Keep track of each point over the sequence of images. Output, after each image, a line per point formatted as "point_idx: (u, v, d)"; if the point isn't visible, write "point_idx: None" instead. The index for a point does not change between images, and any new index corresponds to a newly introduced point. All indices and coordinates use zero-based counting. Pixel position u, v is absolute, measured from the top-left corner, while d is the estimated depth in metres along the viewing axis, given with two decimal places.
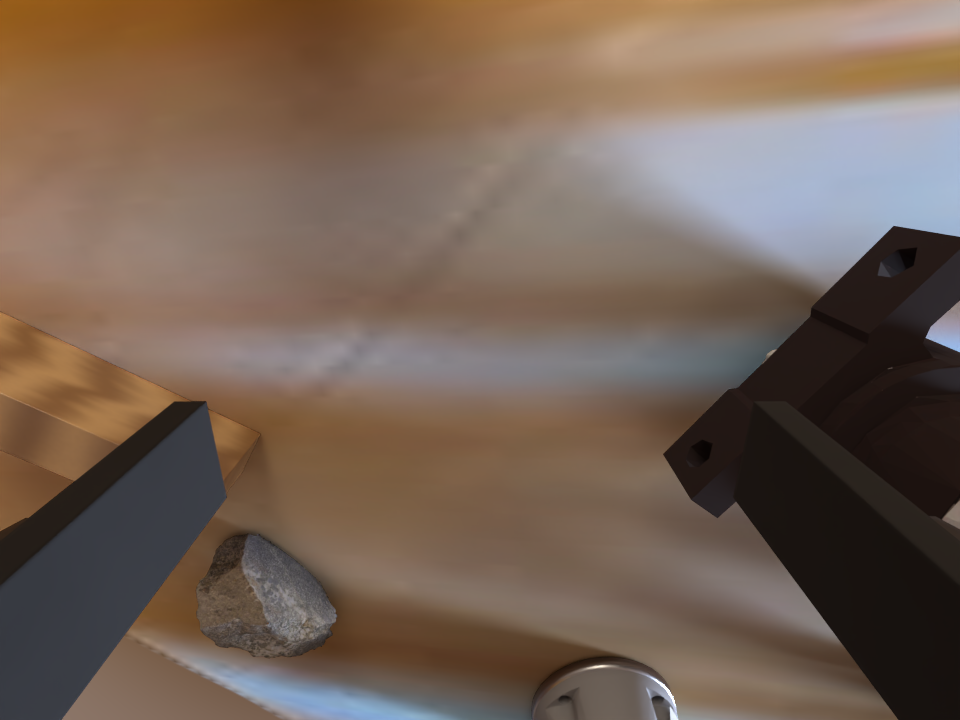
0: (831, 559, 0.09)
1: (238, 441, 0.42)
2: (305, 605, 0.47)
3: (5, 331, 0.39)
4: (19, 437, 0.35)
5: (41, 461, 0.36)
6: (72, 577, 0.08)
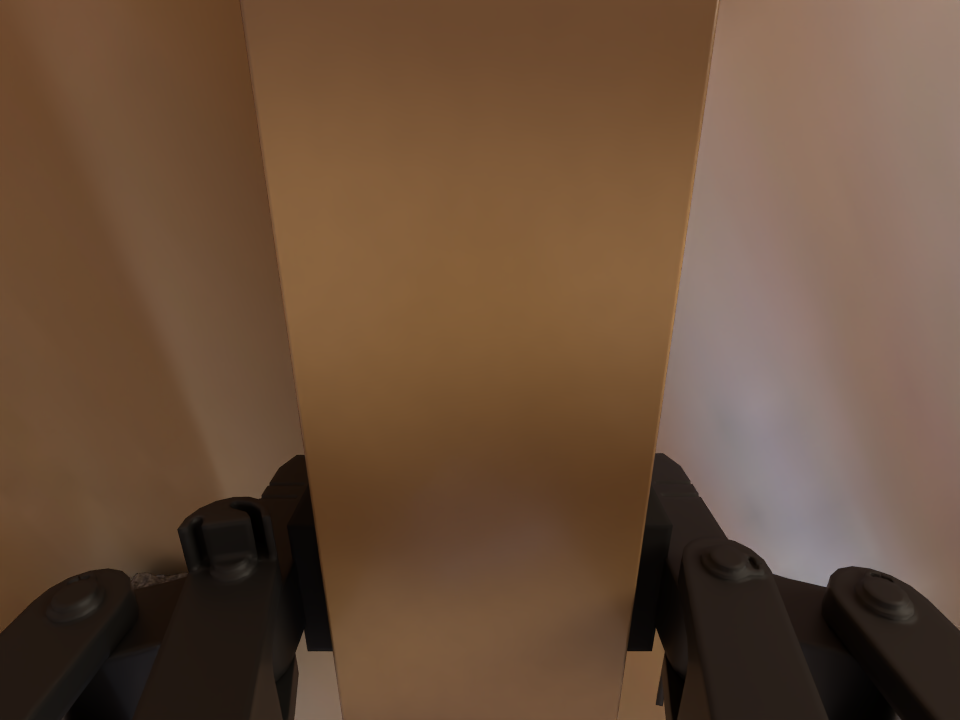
0: None
1: None
2: None
3: None
4: None
5: (307, 139, 0.05)
6: None
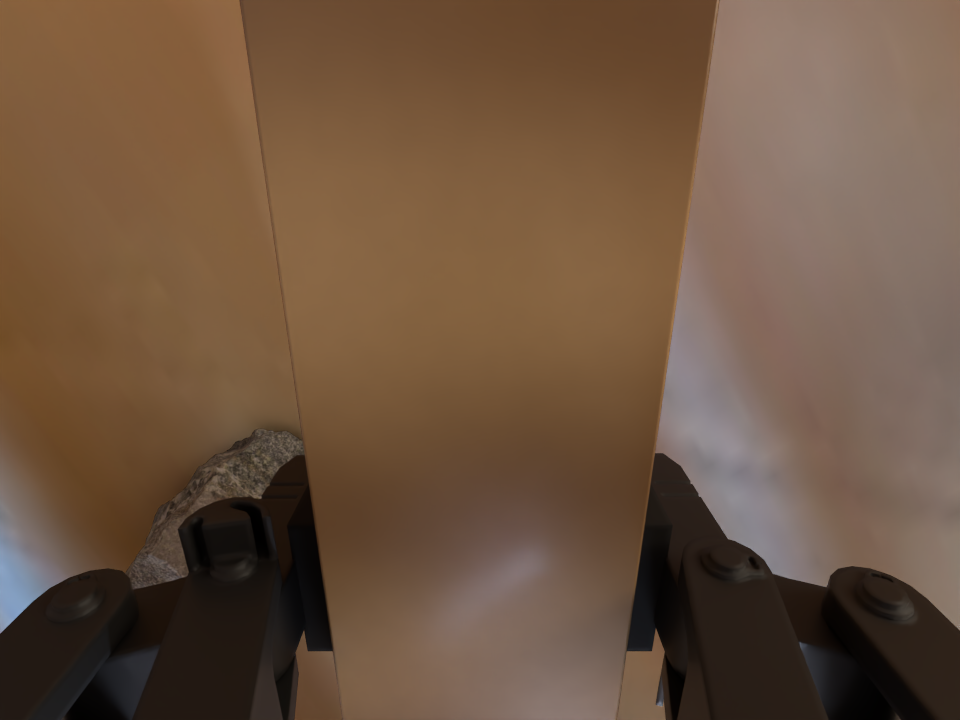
0: None
1: None
2: None
3: None
4: None
5: (307, 137, 0.05)
6: None
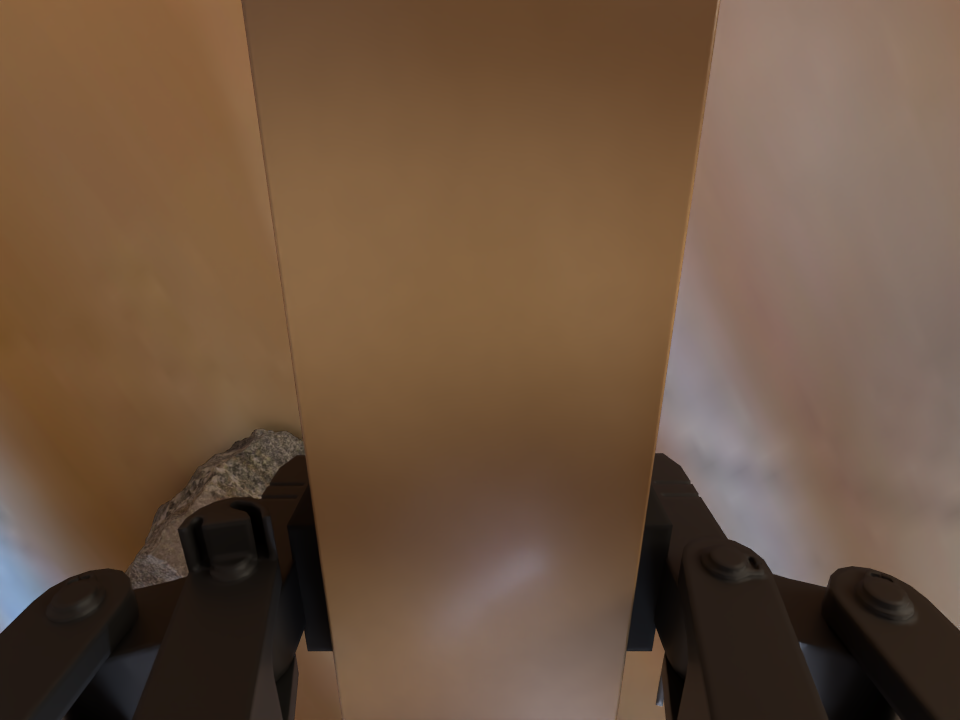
0: None
1: None
2: None
3: None
4: None
5: (308, 137, 0.05)
6: None
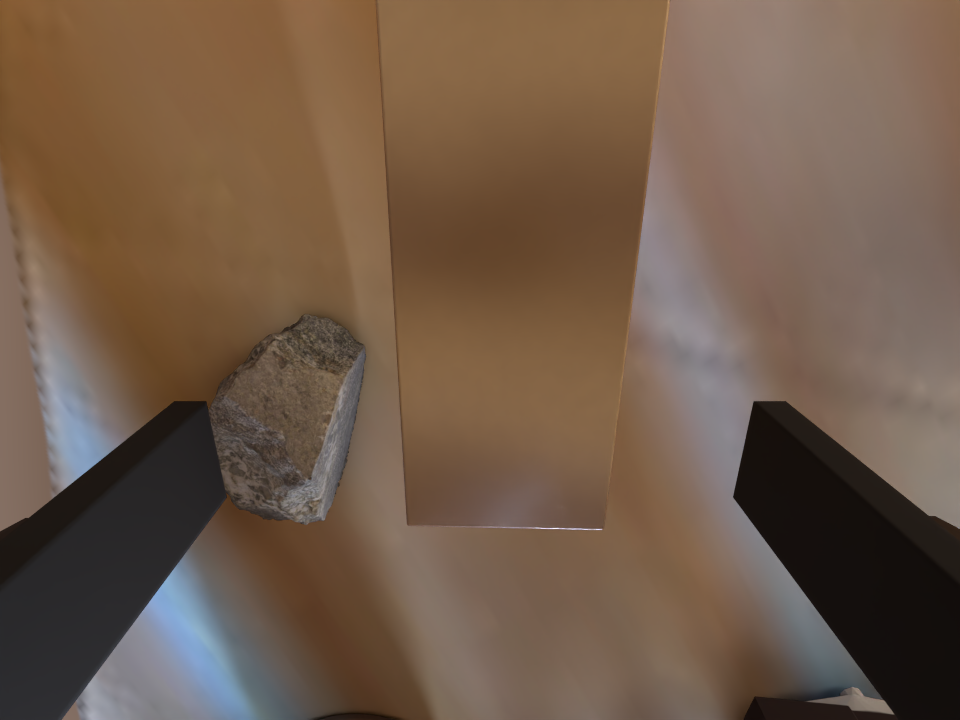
0: (831, 559, 0.10)
1: None
2: (329, 480, 0.31)
3: None
4: None
5: None
6: (71, 576, 0.08)
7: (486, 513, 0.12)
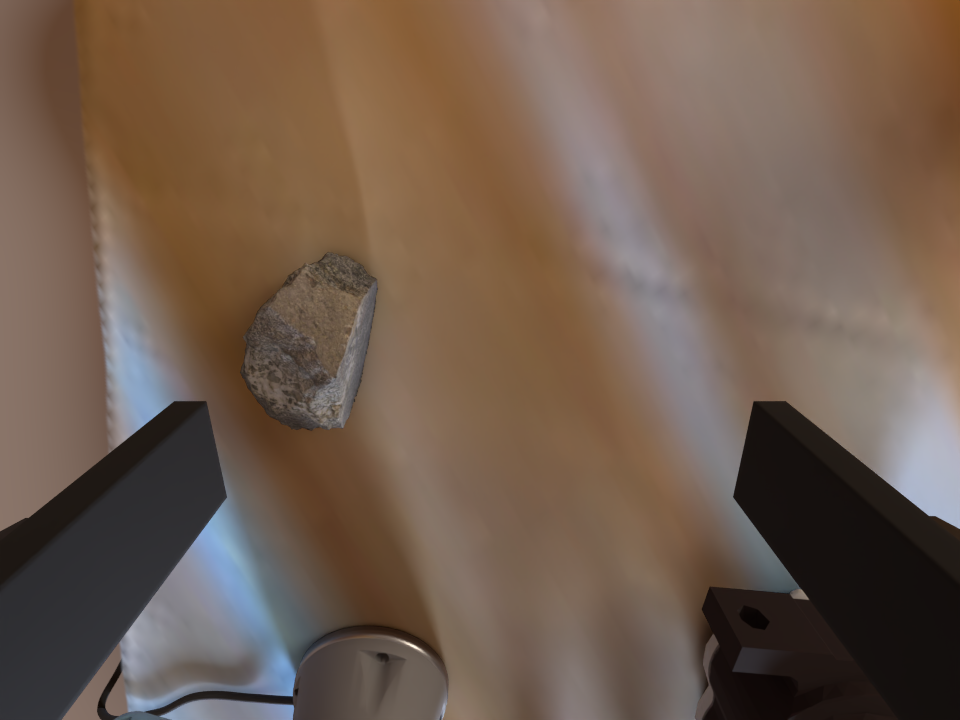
0: (831, 559, 0.09)
1: None
2: (347, 390, 0.37)
3: None
4: None
5: None
6: (71, 577, 0.08)
7: None
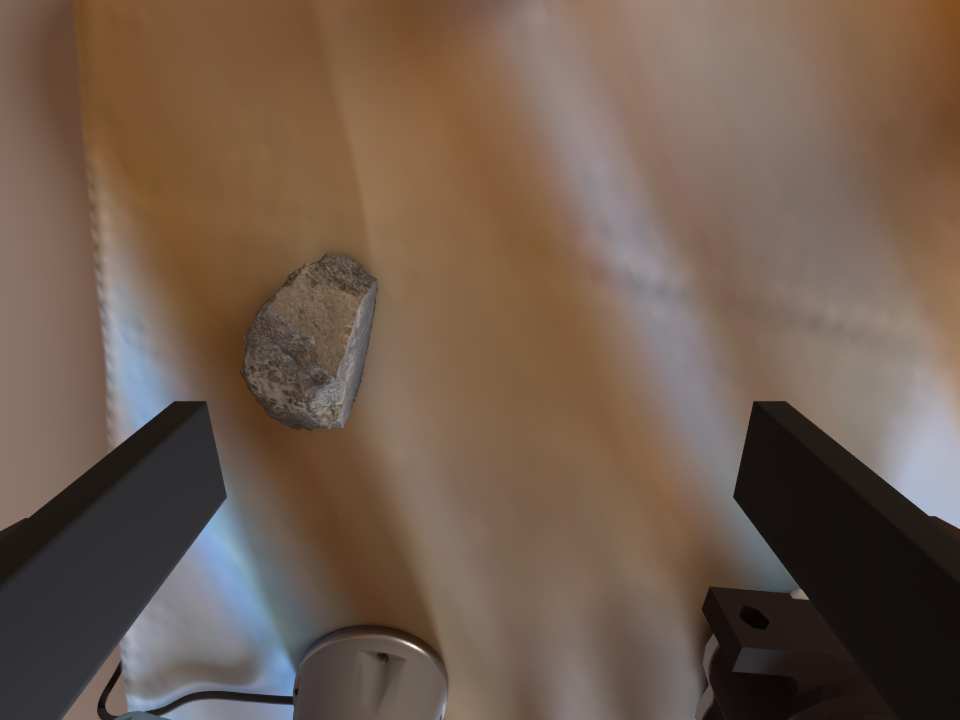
0: (831, 559, 0.09)
1: None
2: (347, 390, 0.37)
3: None
4: None
5: None
6: (71, 577, 0.08)
7: None
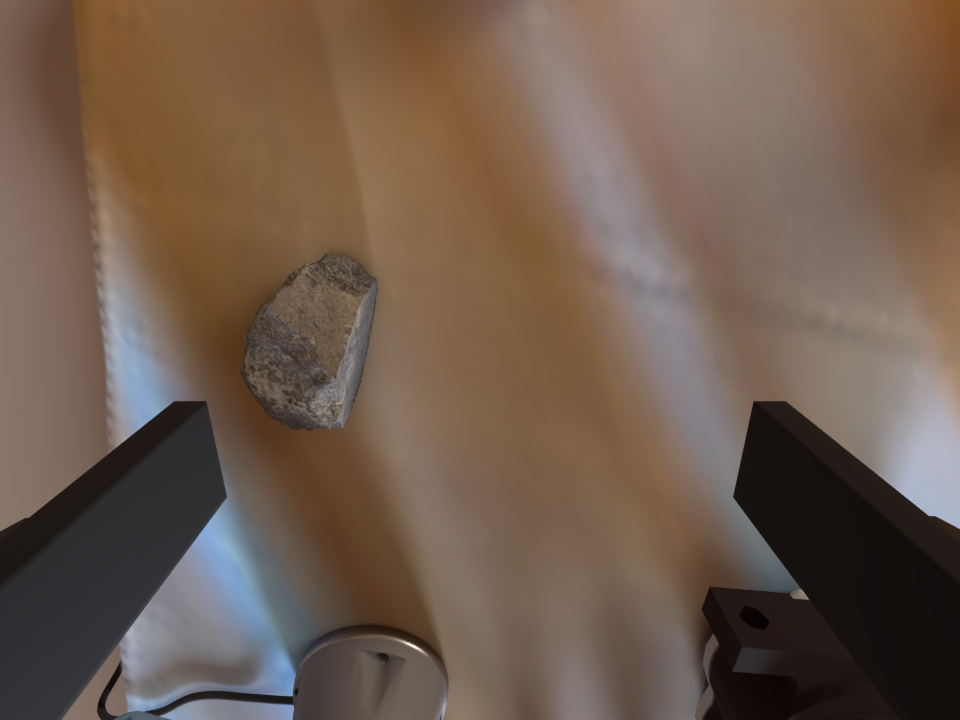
0: (831, 559, 0.09)
1: None
2: (347, 390, 0.37)
3: None
4: None
5: None
6: (71, 577, 0.08)
7: None
